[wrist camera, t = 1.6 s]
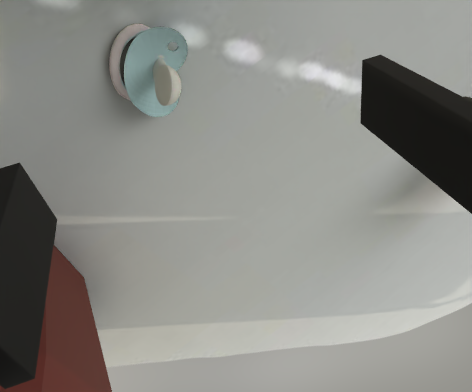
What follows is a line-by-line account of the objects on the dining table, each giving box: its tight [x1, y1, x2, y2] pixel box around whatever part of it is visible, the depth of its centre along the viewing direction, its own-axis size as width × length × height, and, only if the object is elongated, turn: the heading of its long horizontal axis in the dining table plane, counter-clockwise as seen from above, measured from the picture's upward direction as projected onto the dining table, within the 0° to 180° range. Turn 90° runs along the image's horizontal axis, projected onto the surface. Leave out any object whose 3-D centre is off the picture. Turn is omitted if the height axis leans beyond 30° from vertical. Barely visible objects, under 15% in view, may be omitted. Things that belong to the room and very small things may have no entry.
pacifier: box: [109, 24, 188, 117], centre depth 30 cm, size 7×6×6 cm
